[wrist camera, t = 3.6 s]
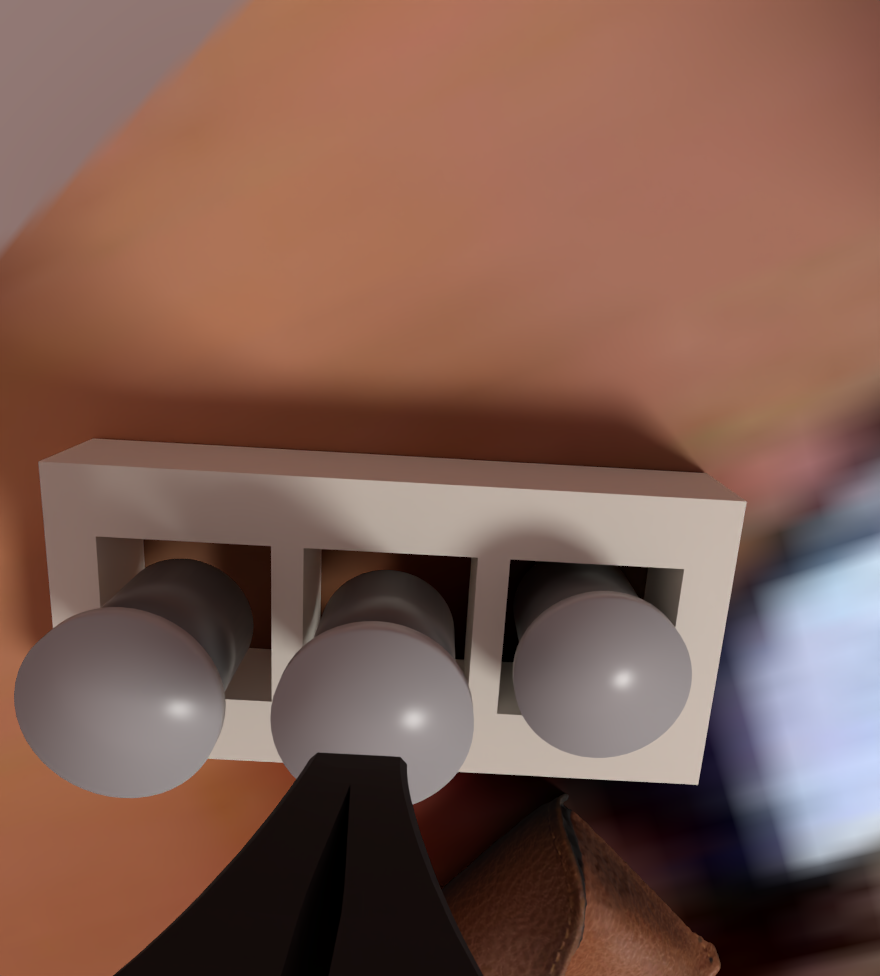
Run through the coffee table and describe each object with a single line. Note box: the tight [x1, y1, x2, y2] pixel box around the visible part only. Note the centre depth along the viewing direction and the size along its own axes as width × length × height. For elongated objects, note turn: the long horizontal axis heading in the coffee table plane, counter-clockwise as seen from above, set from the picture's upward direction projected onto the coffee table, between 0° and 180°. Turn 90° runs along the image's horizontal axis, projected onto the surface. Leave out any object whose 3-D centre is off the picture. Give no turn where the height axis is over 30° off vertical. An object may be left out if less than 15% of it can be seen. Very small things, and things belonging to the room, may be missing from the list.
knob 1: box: [14, 559, 254, 798], centre depth 15 cm, size 4×4×4 cm
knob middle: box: [270, 570, 474, 804], centre depth 15 cm, size 4×4×4 cm
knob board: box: [38, 438, 747, 785], centre depth 18 cm, size 15×7×2 cm, turn 87°
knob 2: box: [513, 561, 692, 758], centre depth 17 cm, size 4×4×4 cm
